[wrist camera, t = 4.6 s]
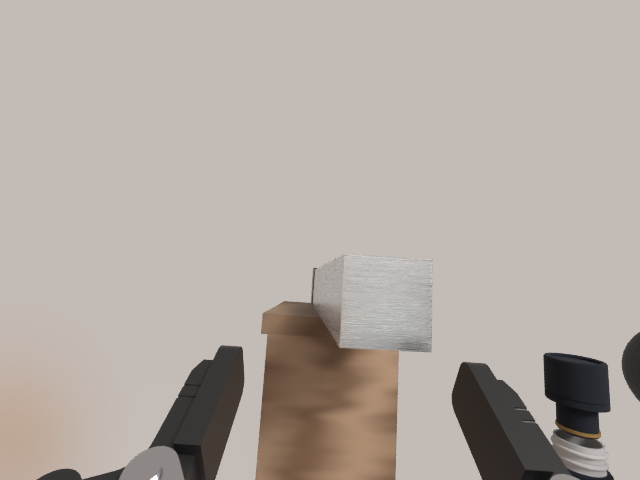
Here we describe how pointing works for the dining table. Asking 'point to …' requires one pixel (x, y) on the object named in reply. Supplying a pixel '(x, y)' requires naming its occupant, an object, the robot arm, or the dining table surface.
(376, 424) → the walnut stand
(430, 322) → the aluminium bar
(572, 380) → the wine bottle
